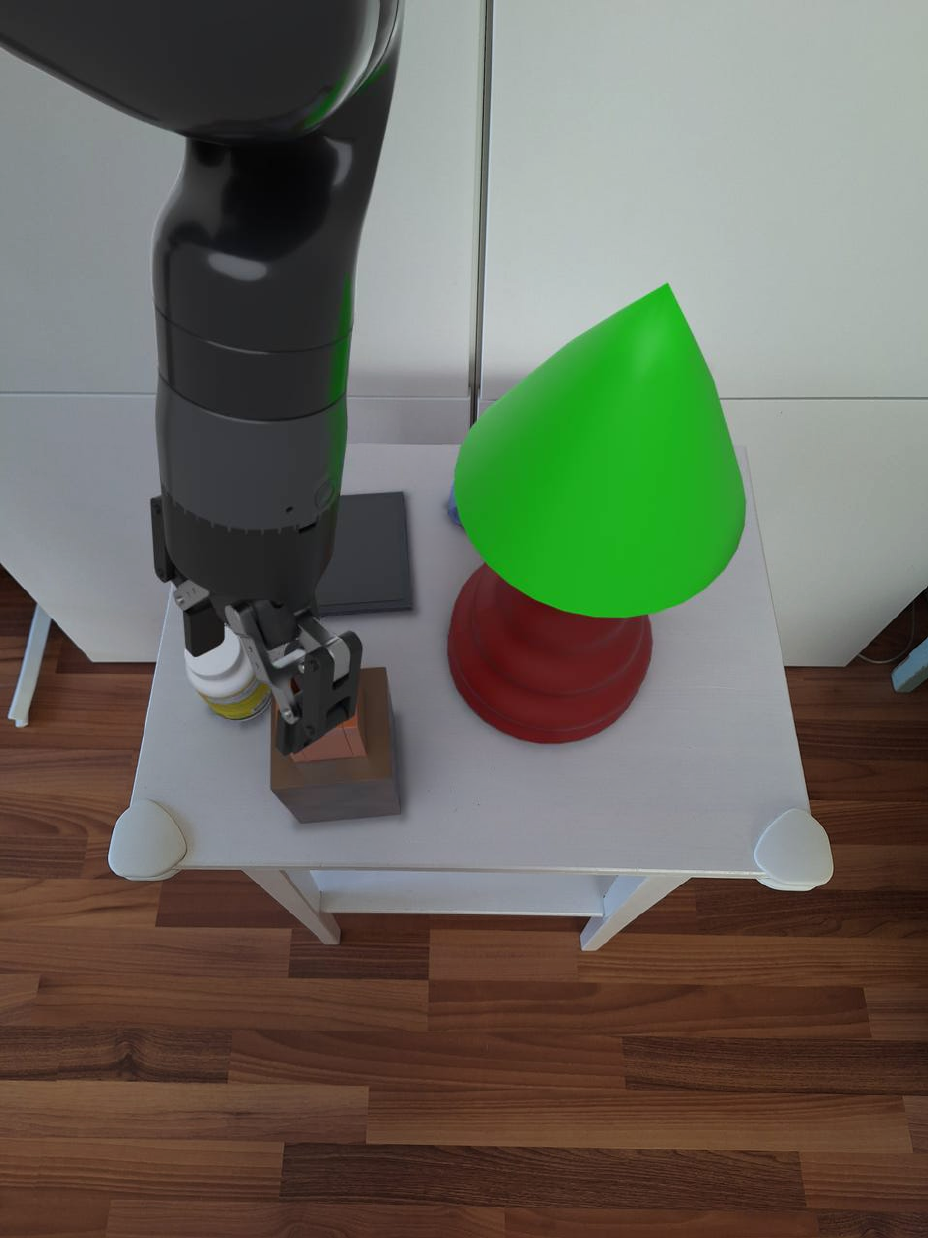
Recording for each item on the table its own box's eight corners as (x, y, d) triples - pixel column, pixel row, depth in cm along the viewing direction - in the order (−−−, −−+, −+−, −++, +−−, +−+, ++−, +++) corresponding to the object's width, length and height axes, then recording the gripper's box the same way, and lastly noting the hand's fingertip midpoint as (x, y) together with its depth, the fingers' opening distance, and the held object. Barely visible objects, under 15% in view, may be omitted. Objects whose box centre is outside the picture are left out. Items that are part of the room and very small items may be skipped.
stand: (300, 824, 69) (269, 789, 56) (299, 728, 73) (270, 675, 60) (400, 814, 70) (392, 778, 57) (394, 720, 73) (385, 666, 61)
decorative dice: (454, 493, 85) (455, 471, 81) (490, 499, 84) (492, 478, 81) (447, 523, 83) (447, 502, 79) (483, 529, 83) (485, 509, 79)
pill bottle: (213, 663, 75) (180, 615, 65) (277, 663, 75) (253, 615, 65) (205, 724, 73) (168, 683, 63) (271, 724, 73) (245, 683, 63)
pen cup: (294, 763, 57) (275, 734, 50) (294, 695, 59) (275, 658, 53) (367, 757, 58) (357, 727, 51) (363, 689, 60) (354, 652, 53)
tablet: (233, 623, 77) (231, 619, 76) (237, 506, 83) (235, 501, 82) (412, 610, 78) (411, 605, 77) (403, 496, 84) (403, 490, 83)
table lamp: (439, 569, 80) (443, 152, 40) (624, 558, 82) (810, 142, 41) (455, 753, 72) (480, 464, 31) (660, 737, 74) (940, 439, 33)
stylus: (317, 736, 58) (283, 667, 45) (317, 713, 58) (283, 639, 46) (341, 734, 58) (314, 665, 45) (340, 711, 58) (314, 637, 46)
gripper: (79, 402, 33) (120, 646, 44) (285, 602, 28) (270, 819, 39) (230, 363, 37) (231, 594, 49) (431, 529, 32) (379, 743, 44)
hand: (248, 694), depth 44 cm, fingers open, 8 cm apart
